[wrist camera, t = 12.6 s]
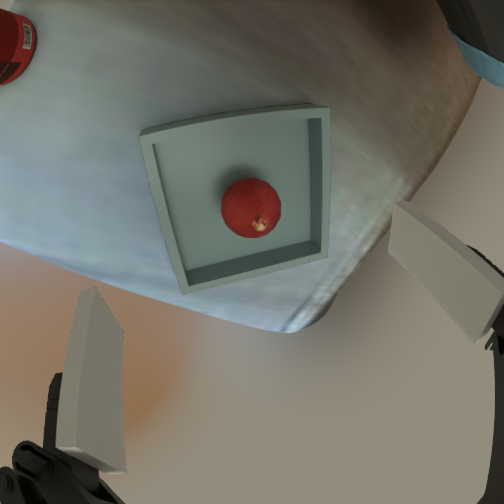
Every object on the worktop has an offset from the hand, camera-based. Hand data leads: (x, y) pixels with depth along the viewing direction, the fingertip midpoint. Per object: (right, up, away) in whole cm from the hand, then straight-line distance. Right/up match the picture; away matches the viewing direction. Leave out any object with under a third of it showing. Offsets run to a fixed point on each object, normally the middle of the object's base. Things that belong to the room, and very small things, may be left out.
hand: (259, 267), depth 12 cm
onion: (-1, +7, +20) cm, 21 cm away
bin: (-2, +7, +21) cm, 22 cm away
